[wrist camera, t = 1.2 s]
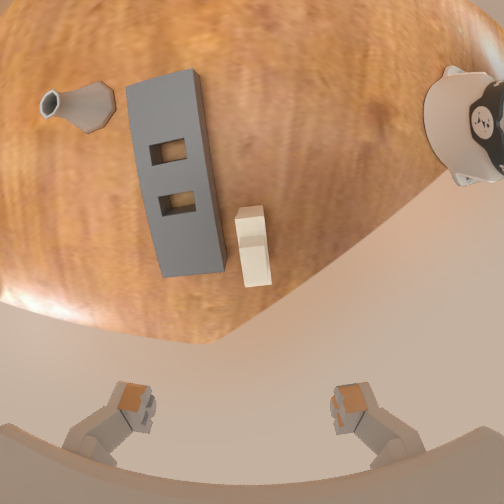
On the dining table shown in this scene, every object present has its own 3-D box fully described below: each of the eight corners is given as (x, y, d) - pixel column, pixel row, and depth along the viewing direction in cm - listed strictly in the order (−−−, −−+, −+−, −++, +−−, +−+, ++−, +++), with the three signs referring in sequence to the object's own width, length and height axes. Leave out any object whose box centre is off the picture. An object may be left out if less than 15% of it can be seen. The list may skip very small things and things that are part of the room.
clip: (262, 201, 34) (265, 224, 25) (269, 260, 37) (273, 298, 28) (238, 204, 34) (232, 228, 25) (246, 262, 37) (244, 301, 28)
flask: (124, 111, 29) (82, 106, 20) (86, 142, 31) (40, 149, 21) (104, 72, 27) (61, 59, 17) (68, 105, 28) (22, 103, 19)
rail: (199, 75, 28) (192, 68, 24) (227, 258, 37) (224, 271, 33) (138, 91, 28) (125, 86, 24) (171, 264, 37) (162, 277, 34)
